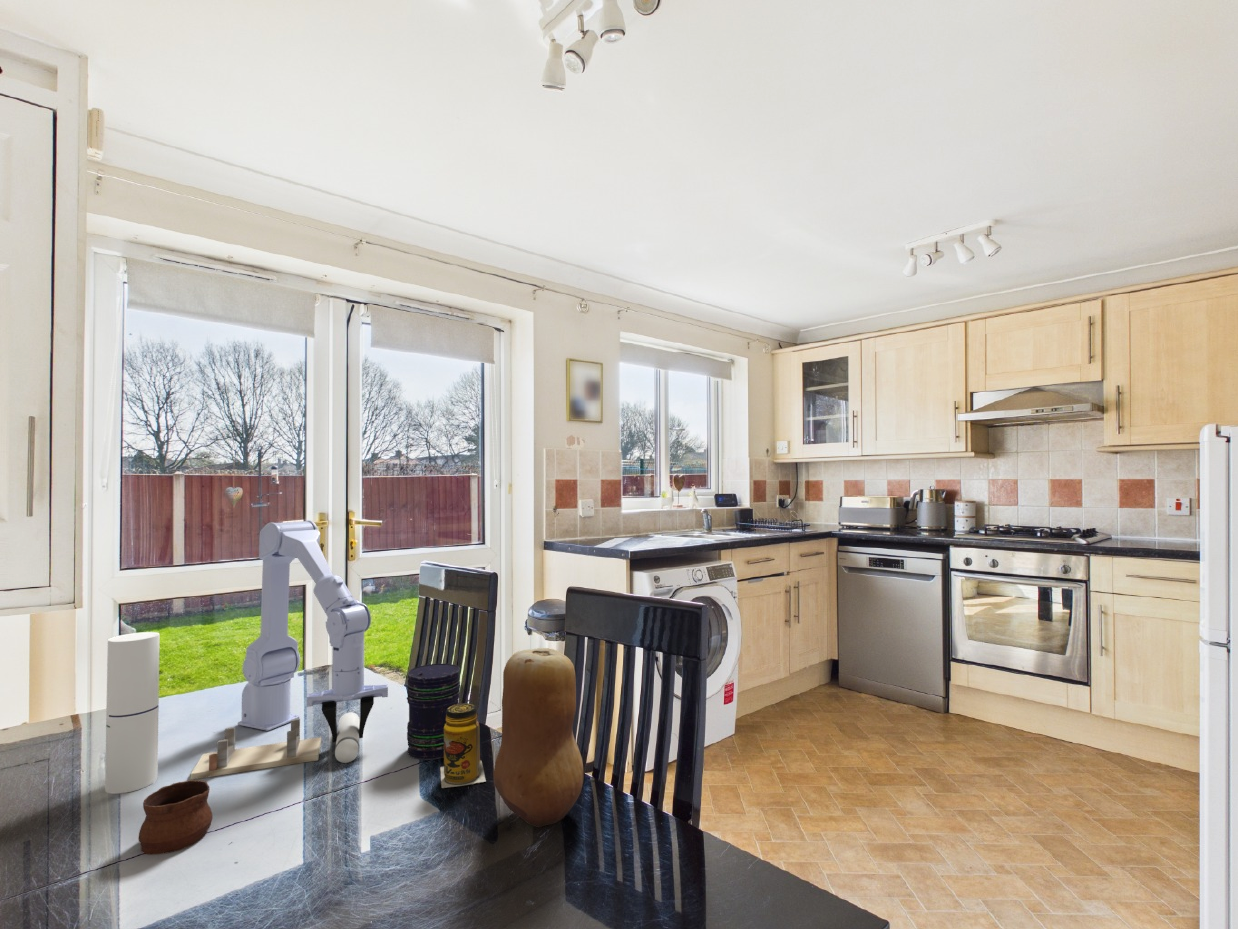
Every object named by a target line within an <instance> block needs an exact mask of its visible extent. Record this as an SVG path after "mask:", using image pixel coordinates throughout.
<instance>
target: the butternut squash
mask: <svg viewBox="0 0 1238 929" xmlns="http://www.w3.org/2000/svg"><path fill="white" fill-rule="evenodd" d="M502 673H503V674H502V685H503V686H502V687H503V688H502V698H501V741H500V747H499V751H498V753H497V756H496V759H495V761H494V769H493V771H492V772H493V773H492V774H493V776H492V777H493V786H494V787H495V789H496V791H497V793H498V794H499V796H500V798H501V799H502V800H503V802H504V803H505V805H506V807H507V808H508V809H509V810H510V811H511V812H512V813H514V814H515V815H516V816H517V817H518V818H521V819H522V820H523V821H525V823H527V824H529V825H530V826H534V827H537V828H539V827H541V828H543V827H545V826H547V825H548V826H549V825H553V824H555V823H557V822H559V821H561V820H563V819H564V818H565V816H567V814H568V813H569V812H570V810H571V809H572V808H573V806H574V805H575V804H576V802H577V800H578V799H579V797H580V795H581V793H582V788H583V784H584V764H583V758H582V755H581V752H580V749H579V746H578V744H577V742H576V738H575V735H574V732H573V727H574V726H573V725H574V720H575V715H576V711H577V683H576V682H577V680H576V670H575V665H574V663H573V662H572V660H571V659H570V658H569V657H568V656H567V655H565V654H563V653H562V652H560V651H558V649H557V650H556V649H554V648H549V647H548V648H547V647H542V648H541V647H538V648H537V647H536V648H531V649H522V650H518V651H516V652H514V653H513V654H512V655H511V656H510V657H509V658H508V660H507V662H506V663H505V666H504V668H503V672H502ZM542 826H543V827H542Z"/></svg>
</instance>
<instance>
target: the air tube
mask: <svg viewBox="0 0 1238 929" xmlns="http://www.w3.org/2000/svg"><path fill="white" fill-rule="evenodd" d="M338 720H339V721H338V724H337V741H336V742H335V747H334V757H335V759H336V760H337V761H338V762H340V763H342V764H343V763H344V764H347V763H351V762H352V761H354V760H355V759H357V756H358V754H359V752H360V738H359V725H360V715H358V714H357V713H355V712H352V711H349V712H346V713H344V714H342V716H340V718H339V719H338Z"/></svg>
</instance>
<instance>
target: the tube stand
mask: <svg viewBox="0 0 1238 929" xmlns="http://www.w3.org/2000/svg"><path fill="white" fill-rule="evenodd" d="M300 737H301V718H299V719H291V722H290V730H287V731H286V741H284V742H277V743H271V744H262V745H254V746H249V747H242V748H241V747H240V748H236V746H235V745H236V726H232V727H226V728H224V739H222V740H221V739H220V740H218V741H217V743H216V744H217V745H216V746H217V748H216V751H214V752H208V753H202V755H201V756H200V758H199V760H198V761H197V763H196V765H195V766H194V767H193V769H192V772H191V773H190V780H198V779H204V778H205V779H206V778H211V777H217V776H218V777H219V776H222V775H224V776H225V775H231V774H236V773H243V772H249V771H250V772H251V771H257V770H263V769H270V768H274V767H275V768H276V767H283V766H289V765H297V764H302V763H307V762H314V761H315V762H316V761H319V756H320V752H321V746H322V736H319V737H313V738H305V739H301V738H300Z"/></svg>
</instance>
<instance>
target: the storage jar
mask: <svg viewBox="0 0 1238 929" xmlns="http://www.w3.org/2000/svg"><path fill="white" fill-rule="evenodd" d="M460 669H461V668H460V667H459V665H456V664H452V663H451V664H450V663H432V664H424V665H419V666H416V667H414V668H411V669H410V670H409V671H408V672H407V678H408V680H407V685H406V688H407V689H406V692H407V697H406V700H407V704H408V722H407V727H406V729H407V732H406V740H407V746H408V747H407V754H408V756H409V757H410V758H412V759H415V760H422V761H431V760H438V759H444V726H445V724H446V710H447V709H448V708H449V707H450V706H453V705H456V704H459V699H460V697H461V690H460V689H461V681H460V679H461V678H460V671H461V670H460Z"/></svg>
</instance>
